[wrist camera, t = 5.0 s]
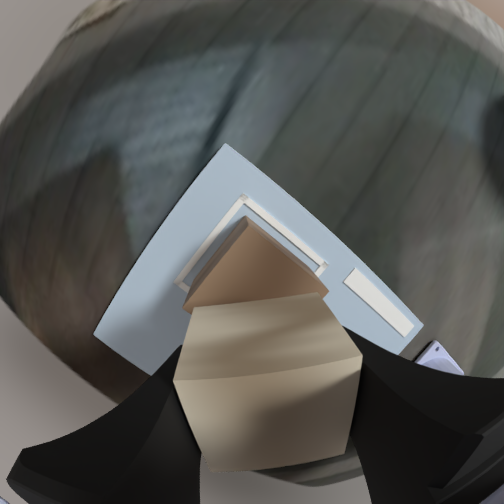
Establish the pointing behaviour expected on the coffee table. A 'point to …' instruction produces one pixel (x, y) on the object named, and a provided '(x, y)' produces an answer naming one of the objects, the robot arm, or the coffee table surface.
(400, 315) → the board
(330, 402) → the maple block
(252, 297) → the walnut base
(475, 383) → the robot arm
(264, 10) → the coffee table surface
